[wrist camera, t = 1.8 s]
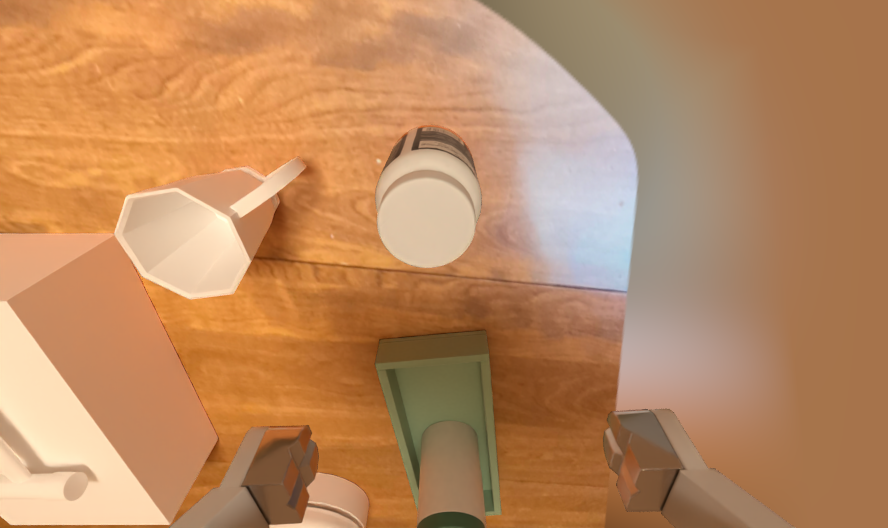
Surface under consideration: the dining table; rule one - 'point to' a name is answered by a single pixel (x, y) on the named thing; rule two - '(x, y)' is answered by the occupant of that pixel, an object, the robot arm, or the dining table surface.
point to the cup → (202, 228)
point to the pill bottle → (428, 198)
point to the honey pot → (333, 504)
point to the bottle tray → (440, 397)
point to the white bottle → (450, 478)
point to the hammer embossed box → (90, 390)
